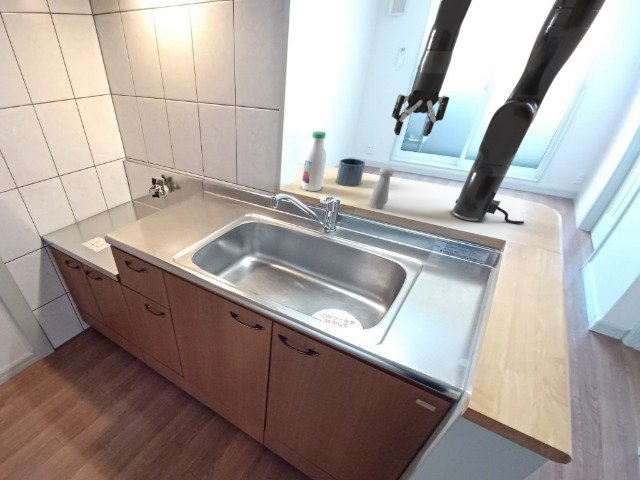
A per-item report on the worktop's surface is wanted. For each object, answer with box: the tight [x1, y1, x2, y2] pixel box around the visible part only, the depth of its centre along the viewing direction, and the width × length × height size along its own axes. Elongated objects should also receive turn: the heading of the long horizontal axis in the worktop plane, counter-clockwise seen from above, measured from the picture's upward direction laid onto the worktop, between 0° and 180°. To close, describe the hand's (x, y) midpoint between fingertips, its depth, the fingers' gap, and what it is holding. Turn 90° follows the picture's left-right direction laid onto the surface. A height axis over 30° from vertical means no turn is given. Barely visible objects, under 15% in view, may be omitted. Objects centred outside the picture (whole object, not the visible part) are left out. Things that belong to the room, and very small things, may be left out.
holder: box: [336, 158, 366, 187], centre depth 130 cm, size 10×10×8 cm
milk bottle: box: [301, 130, 327, 192], centre depth 121 cm, size 8×8×20 cm
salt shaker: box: [369, 166, 395, 210], centre depth 109 cm, size 6×6×13 cm
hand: (411, 135), depth 99 cm, fingers open, 8 cm apart
